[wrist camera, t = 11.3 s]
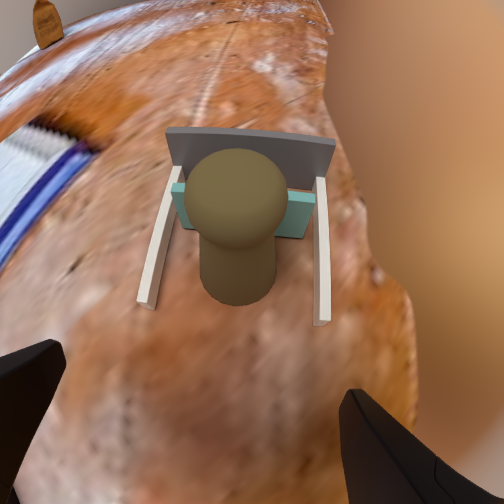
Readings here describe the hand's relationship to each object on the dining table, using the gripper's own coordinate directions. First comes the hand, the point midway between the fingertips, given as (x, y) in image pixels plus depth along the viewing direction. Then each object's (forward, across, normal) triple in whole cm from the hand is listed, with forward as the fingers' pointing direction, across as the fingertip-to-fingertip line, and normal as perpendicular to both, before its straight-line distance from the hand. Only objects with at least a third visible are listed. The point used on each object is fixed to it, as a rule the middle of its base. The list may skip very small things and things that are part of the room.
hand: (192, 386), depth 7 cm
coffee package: (+66, +73, -48) cm, 109 cm away
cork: (+15, 0, +2) cm, 15 cm away
